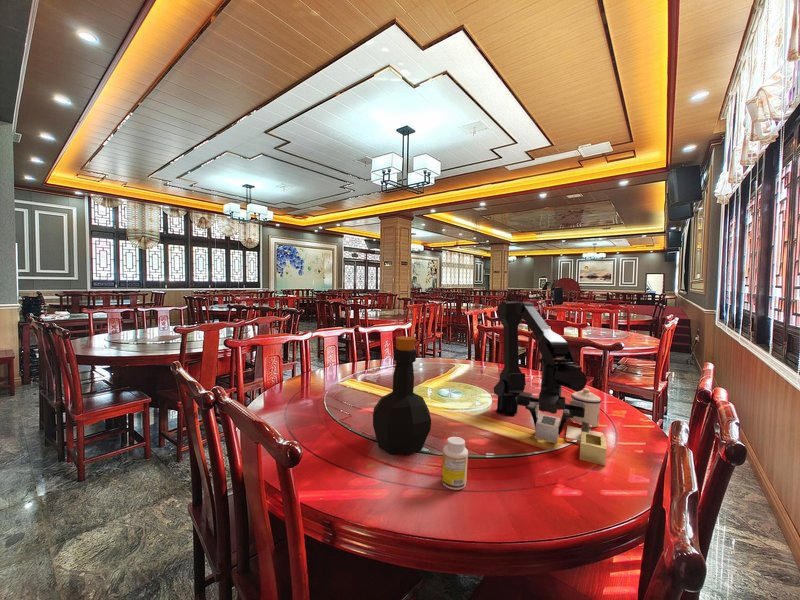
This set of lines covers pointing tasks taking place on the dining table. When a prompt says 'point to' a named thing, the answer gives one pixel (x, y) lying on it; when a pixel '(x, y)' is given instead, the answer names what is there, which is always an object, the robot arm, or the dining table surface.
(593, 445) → the link
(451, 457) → the supplement bottle
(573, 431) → the keeper
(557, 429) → the link
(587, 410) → the teacup with lid
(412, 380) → the bottle
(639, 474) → the dining table surface
